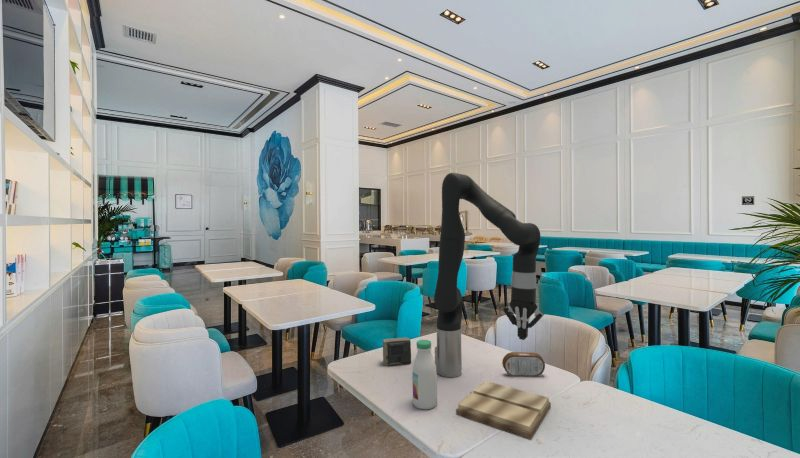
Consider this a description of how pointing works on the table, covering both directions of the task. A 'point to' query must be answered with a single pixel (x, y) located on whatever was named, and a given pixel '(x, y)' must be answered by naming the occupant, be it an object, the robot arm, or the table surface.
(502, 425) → the floor board
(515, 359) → the tin
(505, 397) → the oak plank
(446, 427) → the table surface
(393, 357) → the camera
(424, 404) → the milk bottle
